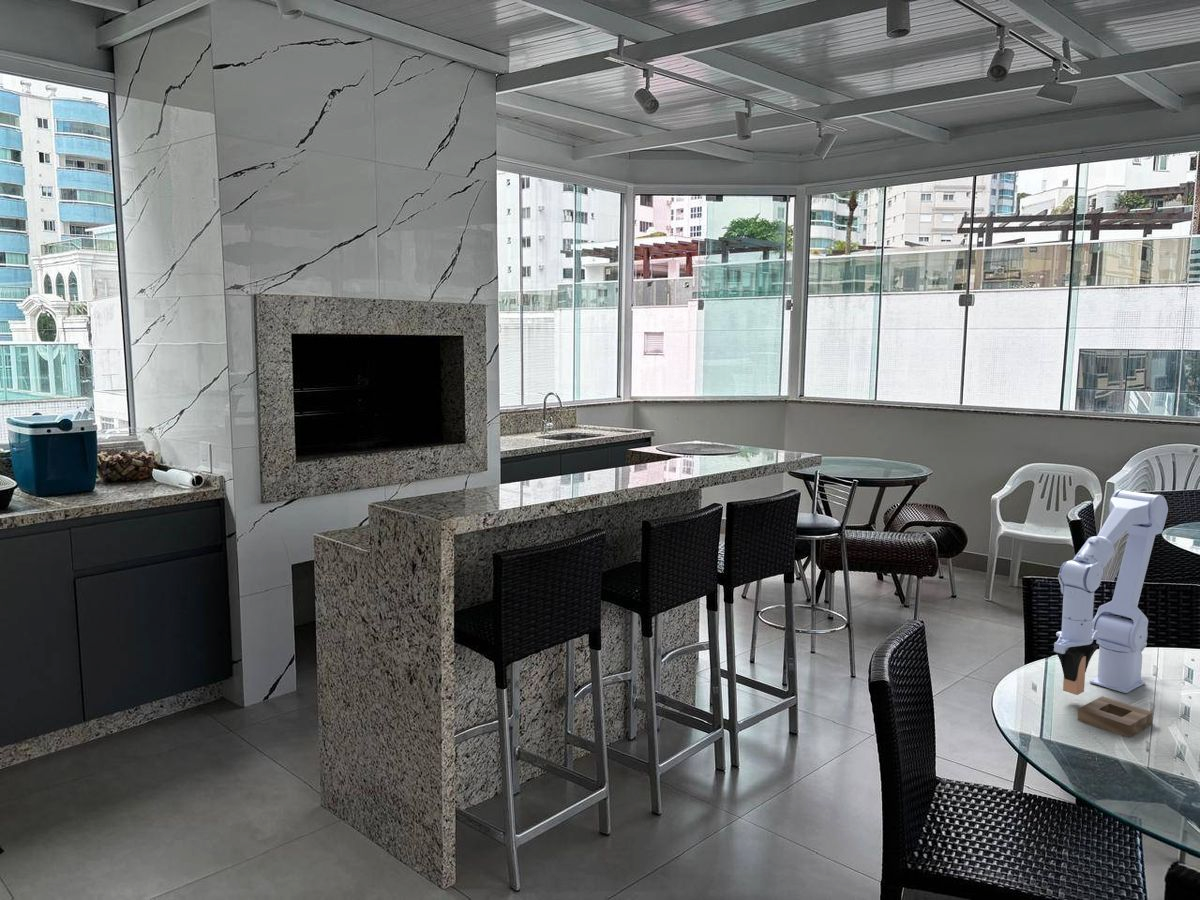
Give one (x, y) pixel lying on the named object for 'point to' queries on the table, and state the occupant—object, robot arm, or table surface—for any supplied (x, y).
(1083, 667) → the peg
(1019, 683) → the table surface
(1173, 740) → the table surface
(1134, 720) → the socket
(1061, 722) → the table surface
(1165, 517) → the robot arm
